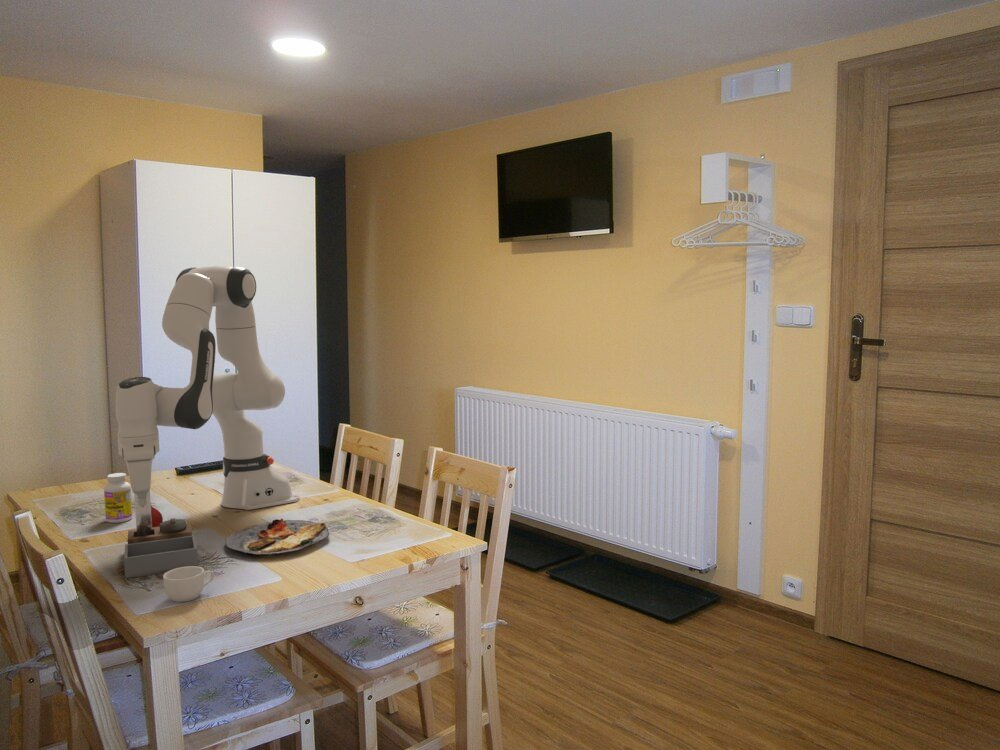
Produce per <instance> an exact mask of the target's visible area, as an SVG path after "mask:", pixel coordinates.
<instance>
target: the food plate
mask: <svg viewBox="0 0 1000 750" xmlns="http://www.w3.org/2000/svg"><path fill="white" fill-rule="evenodd" d="M329 535H330V533H329V529H328V527H327V526H326V523H324V522H322V523H321V522H320V523H317V522H314V521H311V520H302V519H297V520H295V519H292V520H290V519H286V520H284V519H283V518H281V519H273V520H272V521H270V522H266V523H260V524H254V525H252V526H249V527H246V528H243V529H241V530H239V531H236V532H234V533H231V534H230V535H228V536H227V537H226V538H225V540H224V544H225V545H226V547H227V548H229V549H231V550H233V551H238V552H241V553H245V554H247V553H248V554H253V555H267V556H270V555H271V556H277V555H279V554H282V553H287V552H294V551H298V550H301V549H304V548H306V547H308V546H311V545H313V544H316V543H318V542H320V541H321V540H323V539H326V538H327V537H329ZM248 543H249V544H248ZM247 544H248V545H247ZM245 546H247V548H246V549H245ZM258 551H259V552H258Z"/></svg>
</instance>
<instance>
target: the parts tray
mask: <svg viewBox="0 0 1000 750" xmlns="http://www.w3.org/2000/svg"><path fill="white" fill-rule="evenodd" d="M196 541H197V540H196V536H195V535H192V536H186V537H178V538H171V539H163V540H156V541H148V542H140V543H133V544H128V543H126V544H125V545H124V552H123V553H124V556H123V563H124V566H123V567H124V578H125V579H129V578H135V577H136V578H137V577H143V576H150V575H157V574H158V575H159V574H165V573H166V572H168V571H170V570H172V569H175V568H180V567H186V566H198V567H199V555H198V546H197V542H196Z"/></svg>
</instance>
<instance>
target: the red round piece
mask: <svg viewBox="0 0 1000 750" xmlns="http://www.w3.org/2000/svg"><path fill="white" fill-rule="evenodd" d="M151 517H152V527H160V523H162V522H164V521H163V520H164V517H163V515H162V513H161V512H160V511H159V510H158V509H157V508H154V506H153V505H152V504H151Z"/></svg>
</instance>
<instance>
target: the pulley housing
mask: <svg viewBox="0 0 1000 750" xmlns="http://www.w3.org/2000/svg"><path fill="white" fill-rule="evenodd" d="M152 532H153V534H152V535H147V536H139V537H137V528H135V529H130V530H128V532H127V544H133V543H140V542H148V541H156V540H163V539H171V538H178V537H186V536H193V531H192V526H191V522H187V520H185V519H178V518H177V519H176V518H170V519H168V520H166V521H163V522H162V523H160V527H152Z"/></svg>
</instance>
